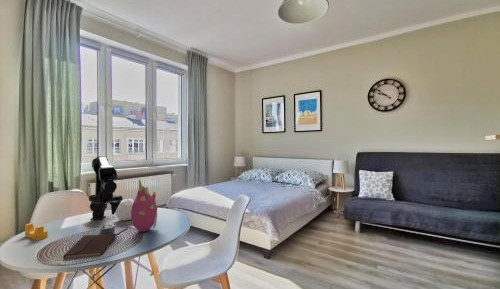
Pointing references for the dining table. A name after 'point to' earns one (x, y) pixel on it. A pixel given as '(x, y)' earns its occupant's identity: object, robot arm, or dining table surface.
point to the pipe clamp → (35, 232)
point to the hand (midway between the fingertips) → (107, 217)
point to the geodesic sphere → (124, 209)
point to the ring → (107, 229)
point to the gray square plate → (116, 231)
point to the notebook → (90, 246)
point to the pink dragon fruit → (144, 210)
